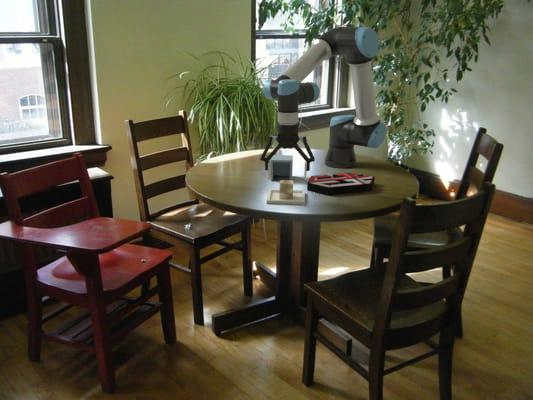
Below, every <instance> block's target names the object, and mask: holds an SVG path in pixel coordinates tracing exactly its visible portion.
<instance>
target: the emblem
mask: <svg viewBox="0 0 533 400" xmlns="http://www.w3.org/2000/svg"><path fill="white" fill-rule="evenodd" d="M375 179H376V177H375V176H374V175H364V174H362V173H357V172H342V173H341V172H337V173H333V174H332V175H328V174H317V175H311V176H310V178H309V179H308V180H307V185H306V190H307V191H308V192H310V191H311V193H314V192H315V194H319V195H324V196H328V197H331V196H332V197H333V196H342V195H352V194H364V193H369V192H370V193H371V192H373V188H374V186H375Z"/></svg>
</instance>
